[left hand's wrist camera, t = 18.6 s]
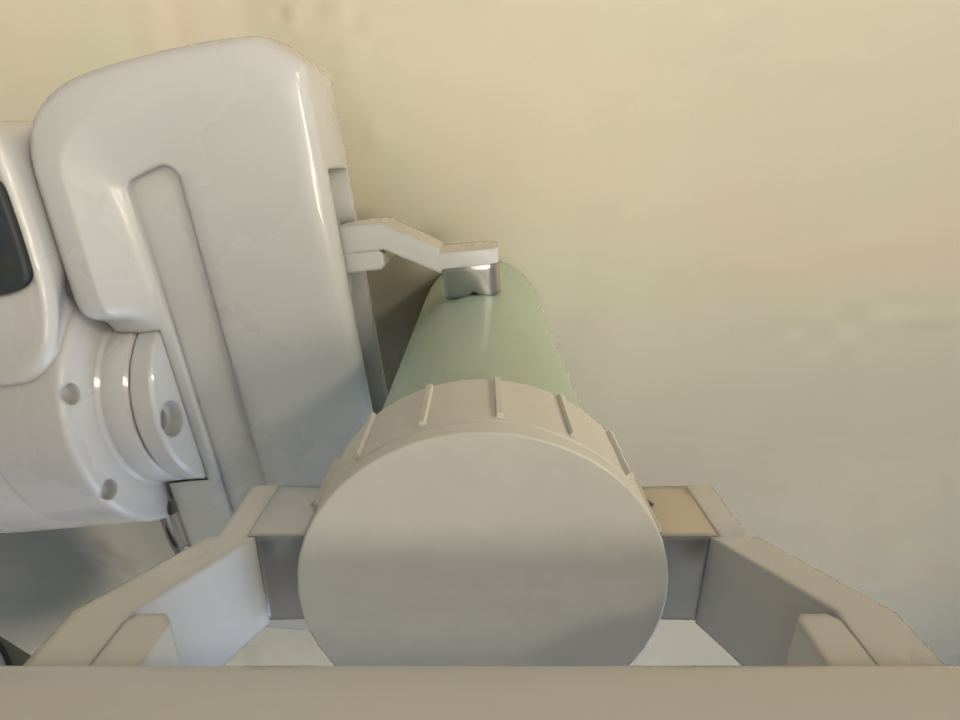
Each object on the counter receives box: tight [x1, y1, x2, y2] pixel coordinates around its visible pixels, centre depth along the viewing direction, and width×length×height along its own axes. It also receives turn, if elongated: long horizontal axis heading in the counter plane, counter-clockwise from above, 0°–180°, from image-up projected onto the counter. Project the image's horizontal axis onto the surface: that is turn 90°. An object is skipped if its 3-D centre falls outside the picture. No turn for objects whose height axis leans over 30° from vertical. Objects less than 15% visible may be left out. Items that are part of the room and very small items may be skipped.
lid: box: [297, 377, 668, 666], centre depth 10 cm, size 6×6×2 cm
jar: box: [383, 262, 582, 410], centre depth 16 cm, size 5×5×15 cm
